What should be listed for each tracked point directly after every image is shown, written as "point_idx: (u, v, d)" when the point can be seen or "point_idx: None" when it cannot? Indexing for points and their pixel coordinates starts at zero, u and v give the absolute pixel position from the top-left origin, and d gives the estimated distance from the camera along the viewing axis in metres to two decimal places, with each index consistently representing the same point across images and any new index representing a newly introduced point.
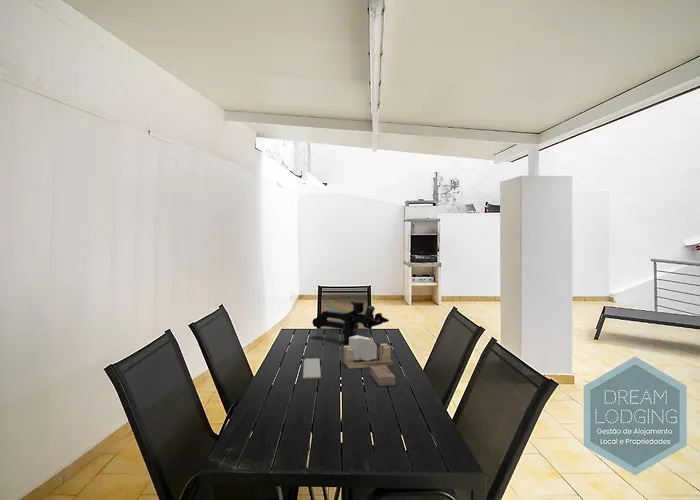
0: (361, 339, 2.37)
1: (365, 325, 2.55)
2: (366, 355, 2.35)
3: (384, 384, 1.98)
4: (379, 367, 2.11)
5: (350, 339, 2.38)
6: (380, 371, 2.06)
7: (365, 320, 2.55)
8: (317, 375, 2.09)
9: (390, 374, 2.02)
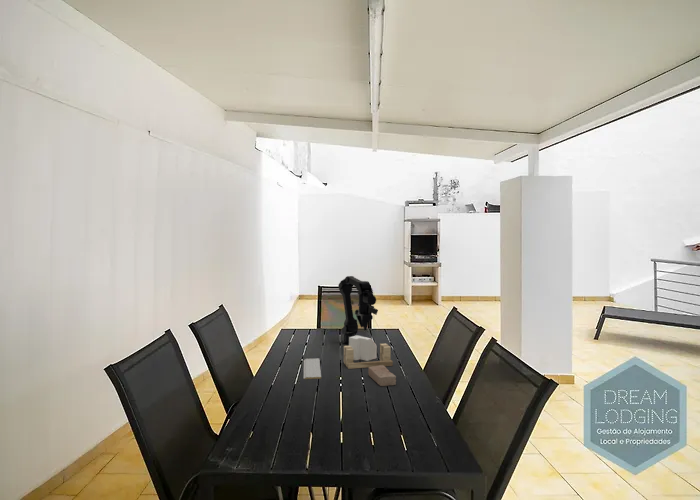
0: (361, 339, 2.37)
1: (365, 318, 2.45)
2: (366, 355, 2.35)
3: (385, 384, 1.98)
4: (377, 367, 2.11)
5: (350, 339, 2.38)
6: (379, 371, 2.06)
7: (370, 317, 2.46)
8: (317, 375, 2.09)
9: (390, 374, 2.02)
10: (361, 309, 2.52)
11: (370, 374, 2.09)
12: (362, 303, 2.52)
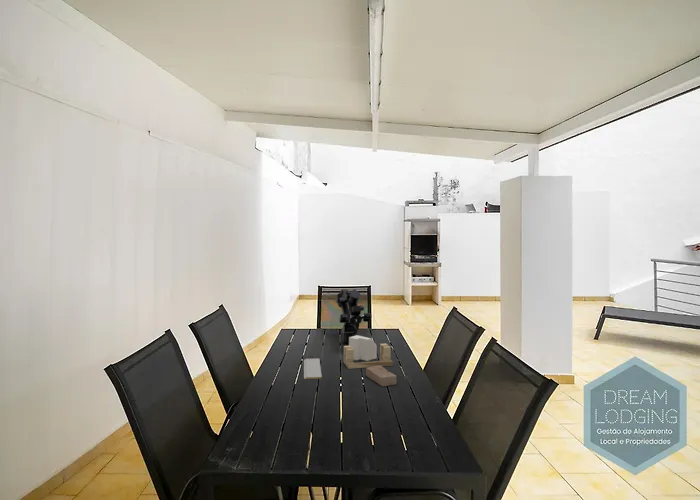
0: (361, 339, 2.37)
1: (339, 320, 2.56)
2: (366, 355, 2.35)
3: (387, 384, 1.98)
4: (375, 367, 2.10)
5: (350, 339, 2.38)
6: (379, 371, 2.05)
7: (340, 317, 2.54)
8: (318, 375, 2.09)
9: (390, 374, 2.02)
10: None
11: (369, 375, 2.08)
12: None
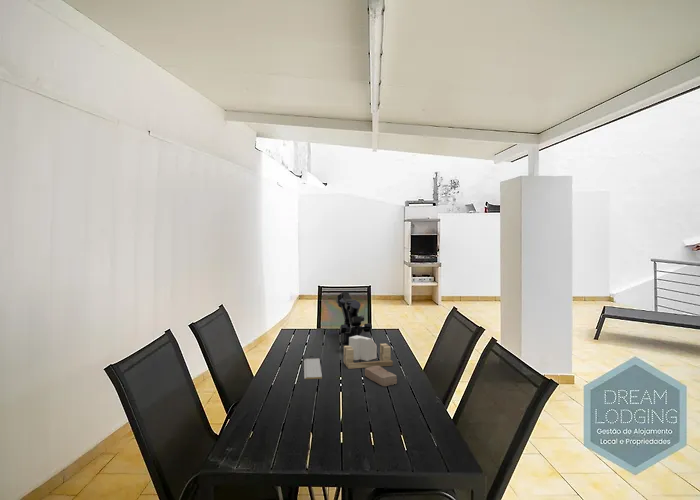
0: (361, 339, 2.37)
1: (340, 330, 2.55)
2: (366, 355, 2.35)
3: (387, 384, 1.98)
4: (374, 368, 2.10)
5: (350, 339, 2.38)
6: (378, 372, 2.05)
7: (340, 327, 2.53)
8: (318, 375, 2.09)
9: (390, 373, 2.02)
10: None
11: (368, 375, 2.07)
12: None
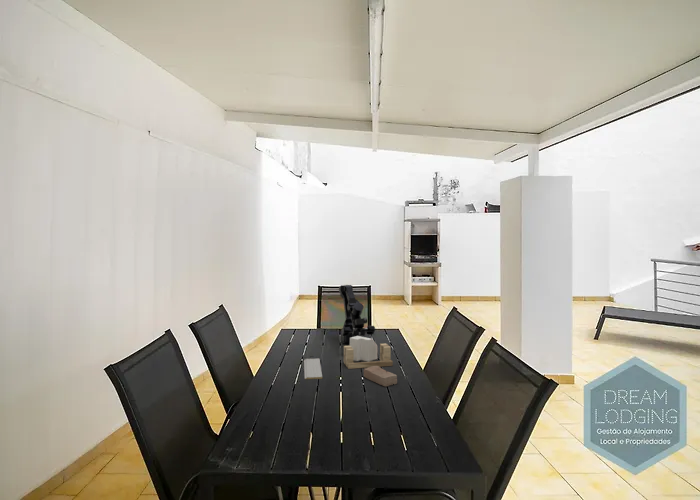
0: (362, 339, 2.36)
1: (342, 333, 2.48)
2: (368, 355, 2.34)
3: (388, 384, 1.98)
4: (373, 368, 2.09)
5: (351, 340, 2.37)
6: (378, 372, 2.05)
7: (343, 330, 2.46)
8: (318, 375, 2.09)
9: (390, 373, 2.03)
10: None
11: (367, 376, 2.06)
12: None
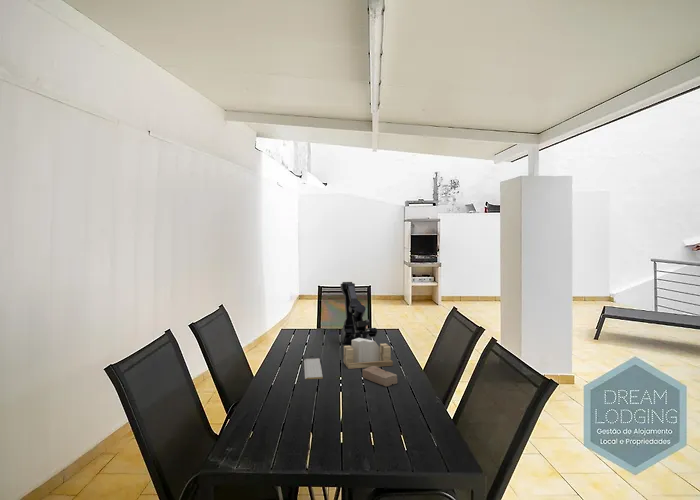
0: (364, 342, 2.32)
1: (344, 335, 2.44)
2: (370, 358, 2.29)
3: (389, 384, 1.98)
4: (371, 368, 2.09)
5: (353, 342, 2.32)
6: (377, 372, 2.04)
7: (344, 332, 2.42)
8: (319, 375, 2.08)
9: (390, 373, 2.03)
10: None
11: (366, 376, 2.06)
12: None
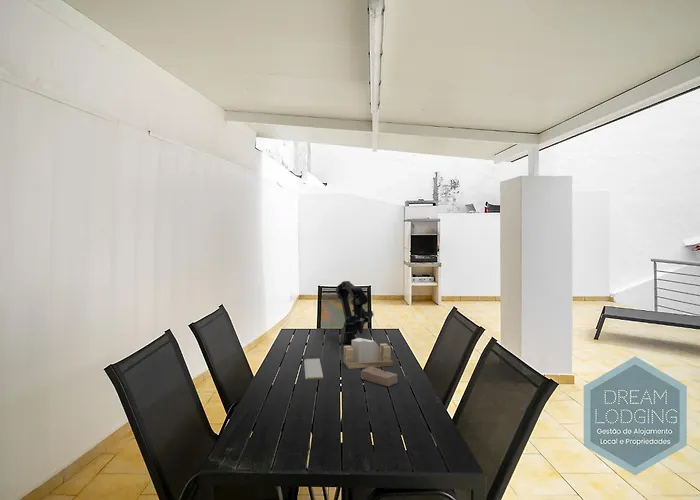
0: (364, 342, 2.31)
1: (350, 319, 2.48)
2: (370, 358, 2.29)
3: (391, 384, 1.98)
4: (370, 369, 2.08)
5: (353, 342, 2.32)
6: (377, 372, 2.04)
7: (354, 318, 2.47)
8: (319, 375, 2.08)
9: (390, 373, 2.03)
10: (354, 313, 2.55)
11: (366, 377, 2.04)
12: (354, 307, 2.56)
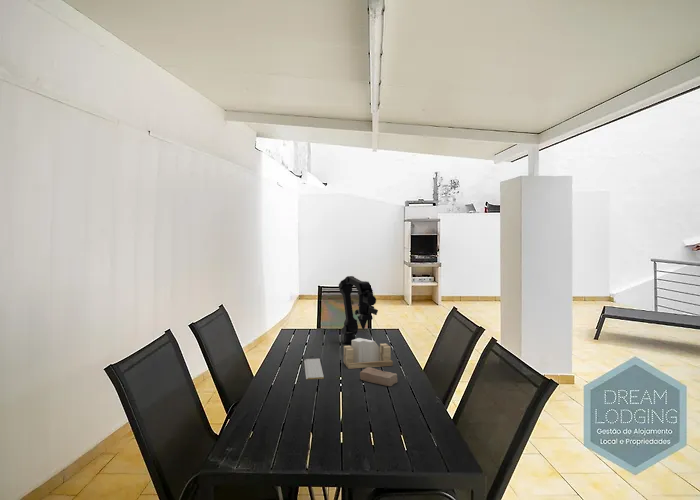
0: (364, 342, 2.31)
1: (365, 318, 2.45)
2: (370, 358, 2.29)
3: (392, 383, 1.99)
4: (368, 370, 2.07)
5: (353, 342, 2.32)
6: (377, 373, 2.03)
7: (370, 318, 2.46)
8: (320, 375, 2.08)
9: (390, 373, 2.03)
10: (361, 309, 2.52)
11: (365, 378, 2.03)
12: (362, 303, 2.52)
